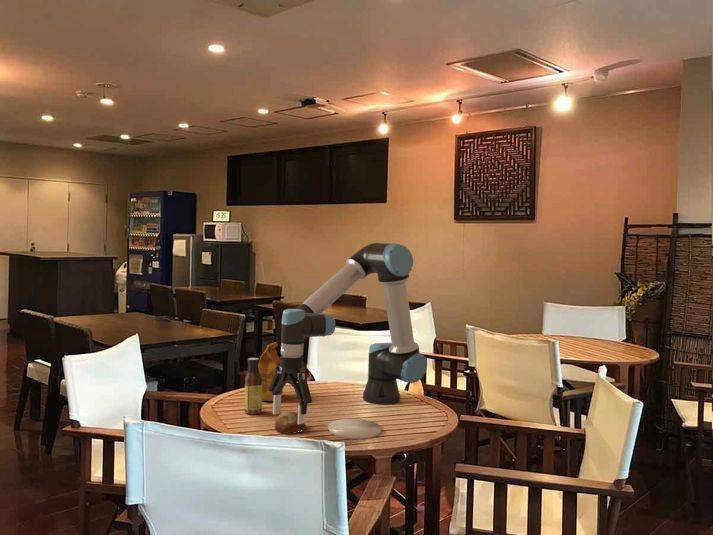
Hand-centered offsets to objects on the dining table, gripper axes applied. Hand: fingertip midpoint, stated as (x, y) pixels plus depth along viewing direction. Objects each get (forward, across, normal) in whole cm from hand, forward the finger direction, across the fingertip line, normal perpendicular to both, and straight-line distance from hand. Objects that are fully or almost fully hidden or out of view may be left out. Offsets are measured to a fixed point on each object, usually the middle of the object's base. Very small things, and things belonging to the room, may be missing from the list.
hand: (288, 418), depth 201 cm
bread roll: (+4, 0, +1) cm, 4 cm away
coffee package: (+4, -35, +17) cm, 39 cm away
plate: (+3, +14, +17) cm, 23 cm away
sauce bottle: (+4, -23, +1) cm, 23 cm away
